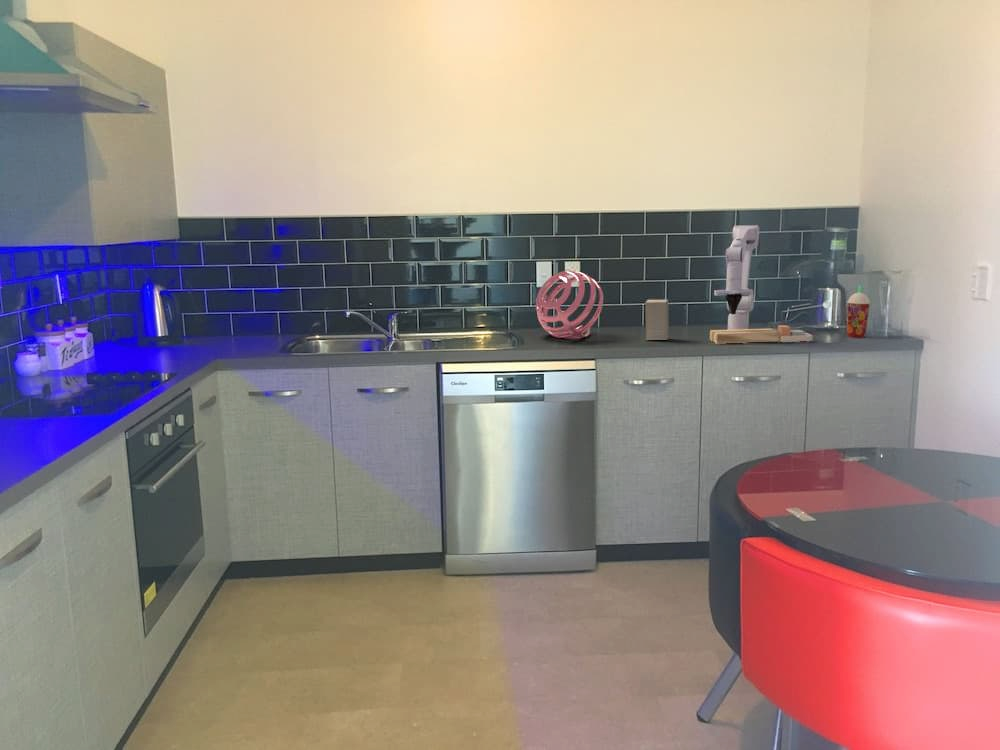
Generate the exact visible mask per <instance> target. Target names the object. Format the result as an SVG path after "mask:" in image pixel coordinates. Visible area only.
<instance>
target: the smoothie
mask: <svg viewBox="0 0 1000 750" xmlns="http://www.w3.org/2000/svg"><path fill="white" fill-rule="evenodd" d="M870 304H871V301H870V299H869V297H868V296H867V294H865V293H862V292H861V285H858V291H857V292H855V293H853V294H852V295H851V296H849V298H848V300H847V301H846V311H847V312H846V334H847V335H848V337H849V338H857V339H858V338H859V339H860V338H864V337H865V335H866V333H867V326H868V320H869V312H870V307H871V306H870Z"/></svg>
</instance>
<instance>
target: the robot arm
mask: <svg viewBox="0 0 1000 750" xmlns="http://www.w3.org/2000/svg"><path fill="white" fill-rule="evenodd" d="M759 239H760V226H759V225H758V224H756V225H738V224H737V225H734V226H733V228H732V242H731V244H730V246H728V248H726V250H725V266H726V281H725V282H726V283H725V285H726V287H725V289H717V290H716V289H715V290H714V291H713V292H714V293H713V295H714V296H717V297H719V296H724V297H725V300H726V309H727V310H728V311H729V314H728V316H727V330H733V329H749V322H750V312H752V311H753V310H754V305H755V304H754V298H755V294H754V289H749V288H748V287H749V286H748V285H749V278H750V268H751V260H752V254H753V250H755V249H756V248H758V245H759Z"/></svg>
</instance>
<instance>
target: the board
mask: <svg viewBox="0 0 1000 750" xmlns="http://www.w3.org/2000/svg"><path fill="white" fill-rule="evenodd" d="M779 333H780V332H778V330H775V329H773V328H748V329H733V330H728V329H709V341H710V340H711V342H712V341H713V342H712V343H714V342H715V343H714V344H716V345H727V344H726V343H743V344H748V343H747V342H768V341H779Z"/></svg>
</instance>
